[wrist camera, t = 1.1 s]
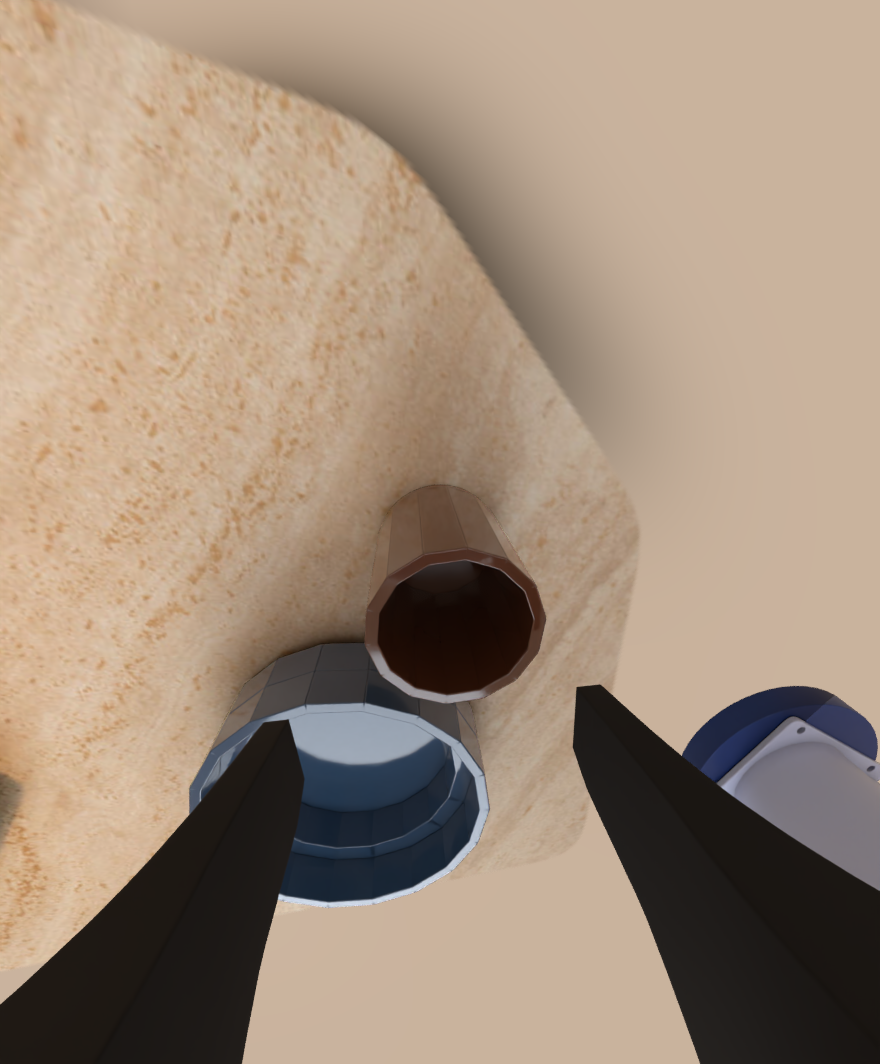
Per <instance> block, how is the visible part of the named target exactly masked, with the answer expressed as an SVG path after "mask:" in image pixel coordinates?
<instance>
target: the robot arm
mask: <svg viewBox="0 0 880 1064" xmlns="http://www.w3.org/2000/svg"><path fill="white" fill-rule="evenodd" d="M573 749H574V752H575V755H576V758H577V761H578V764H579V767H580V770H581V773H582V776H583V779H584V781H585V784H586V787H587V790H588V792H589V794H590V796H591V799H592V801H593V803H594V805H595V807H596V810H597V812H598V814H599V816H600V818H601V820H602V822H603V825H604V827H605V829H606V831H607V833H608V835H609V837H610V840H611V842H612V844H613V846H614V848H615V850H616V852H617V854H618V857H619V859H620V861H621V863H622V865H623V867H624V869H625V872H626V874H627V876H628V878H629V880H630V882H631V884H632V886H633V889H634V891H635V893H636V895H637V897H638V900H639V902H640V904H641V907H642V909H643V911H644V914H645V916H646V918H647V921H648V923H649V926H650V928H651V931H652V934H653V936H654V939H655V942H656V944H657V947H658V950H659V952H660V955H661V957H662V960H663V963H664V965H665V968H666V970H667V973H668V976H669V979H670V981H671V984H672V987H673V990H674V992H675V995H676V998H677V1001H678V1003H679V1006H680V1009H681V1012H682V1014H683V1017H684V1020H685V1023H686V1025H687V1028H688V1031H689V1034H690V1036H691V1039H692V1042H693V1045H694V1047H695V1050H696V1053H697V1056H698V1059H699V1061H700V1064H880V784H879V783H878V782H877V781H879V780H880V763H878V762H876V761H875V760H873V759H871V758H869V757H868V756H866V755H864V754H862V753H860V752H859V751H857V750H855V749H853V748H851V747H850V746H848V745H846V744H844V743H842V742H841V741H839V740H837V739H835V738H833V737H832V736H830V735H828V734H826V733H824V732H823V731H821V730H819V729H817V728H815V727H814V726H812V725H810V724H808V723H807V722H805V721H803V720H801V719H799V718H798V717H789V718H787V719H785V720H784V721H783V722H782V723H781V724H780V725H779V726H778V727H777V728H776V729H775V730H773V731H772V732H771V733H770V734H769V735H768V736H767V737H766V738H765V739H764V740H763V741H761V742H760V743H759V744H758V745H757V746H756V747H755V748H754V749H753V750H752V751H751V752H749V753H748V754H747V755H746V756H745V757H744V758H743V759H742V760H741V761H740V762H739V763H737V764H736V765H735V766H734V767H733V768H732V769H731V770H730V771H729V772H728V773H727V774H725V775H724V776H723V777H722V778H721V779H720V780H719V781H718V782H717V783H715V782H714V781H712V780H711V779H710V778H709V777H707V776H706V775H705V774H703V773H702V772H701V771H699V770H698V769H697V768H696V767H695V766H693V765H692V764H691V763H690V762H688V761H687V760H686V759H685V758H683V757H682V756H681V755H680V754H679V753H677V752H676V751H675V750H674V749H673V748H672V747H670V746H669V745H668V744H667V743H666V742H664V741H663V740H662V739H661V738H660V737H658V736H657V735H656V734H655V733H654V732H653V731H652V730H650V729H649V728H648V727H647V726H646V725H644V723H643V722H641V721H640V720H639V719H638V718H637V717H636V716H635V715H633V713H631V712H630V711H629V710H628V709H627V708H626V707H625V706H624V705H623V704H621V703H620V702H619V701H618V700H617V699H616V698H615V697H614V696H613V695H612V694H610V693H609V692H608V691H607V690H606V689H605V688H604V687H603V686H601V685H591V686H583V687H577V689H576V705H575V721H574V737H573ZM304 780H305V778H304V774H303V771H302V767H301V763H300V759H299V756H298V752H297V748H296V744H295V741H294V737H293V733H292V729H291V726H290V722H289V719H287V720H278V721H269V722H263V724H262V725H261V726H260V727H259V728H258V730H257V731H256V732H255V733H254V735H253V736H252V737H251V738H250V740H249V741H248V742H247V744H246V745H245V746H244V747H243V749H242V750H241V751H240V753H239V754H238V755H237V756H236V758H235V759H234V760H233V762H232V763H231V764H230V765H229V767H228V768H227V769H226V770H225V772H224V773H223V774H222V776H221V777H220V778H219V779H218V780H217V782H216V783H215V784H214V785H213V787H212V788H211V789H210V790H209V792H208V793H207V794H206V795H205V796H204V798H203V799H202V800H201V801H200V803H199V804H198V805H197V806H196V807H195V809H194V810H193V811H192V812H191V813H190V815H189V816H188V817H187V818H186V819H185V820H184V822H183V823H182V824H181V825H180V826H179V827H178V828H177V830H176V831H175V832H174V833H173V834H172V835H171V836H170V838H169V839H168V840H167V841H166V842H165V843H164V844H163V846H162V847H161V848H160V849H159V850H158V851H157V852H156V853H155V855H154V856H153V857H152V858H151V859H150V860H149V861H148V862H147V863H146V864H145V865H144V867H143V868H142V869H141V870H140V871H139V872H138V873H137V874H136V875H135V876H134V877H133V878H132V879H131V880H130V881H129V883H128V884H127V885H126V886H125V887H124V888H123V889H122V890H121V891H120V892H119V893H118V894H117V895H116V896H115V897H114V898H113V899H112V900H111V901H110V902H109V903H108V904H107V905H106V906H105V907H104V908H103V909H102V910H101V911H100V912H99V913H98V914H97V915H96V916H95V917H94V918H93V919H92V920H91V921H90V922H89V923H88V924H87V925H86V926H85V927H84V928H83V929H82V930H81V931H80V932H79V933H77V934H76V935H75V936H74V937H73V938H72V939H71V940H70V941H69V942H68V943H67V944H66V945H65V946H64V947H63V948H61V949H60V950H59V951H58V952H57V953H56V954H55V955H54V956H53V957H52V958H51V959H50V960H49V961H48V962H47V963H45V964H44V966H42V967H41V968H40V969H39V970H38V971H37V972H36V973H35V974H34V975H33V976H32V977H31V978H29V979H28V980H27V981H26V982H25V983H24V984H23V985H22V986H21V987H20V988H18V989H17V990H16V991H15V992H14V993H13V994H12V995H11V996H9V997H8V998H7V999H6V1000H5V1001H4V1002H3V1003H2V1004H0V1064H242V1060H243V1054H244V1048H245V1043H246V1037H247V1032H248V1027H249V1022H250V1017H251V1011H252V1006H253V1001H254V995H255V990H256V985H257V980H258V975H259V970H260V966H261V962H262V958H263V953H264V949H265V944H266V941H267V937H268V934H269V930H270V926H271V923H272V919H273V915H274V912H275V908H276V904H277V900H278V897H279V893H280V889H281V886H282V882H283V878H284V875H285V871H286V867H287V863H288V860H289V856H290V852H291V848H292V844H293V841H294V837H295V833H296V829H297V825H298V819H299V813H300V807H301V801H302V794H303V787H304Z"/></svg>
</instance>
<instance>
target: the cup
mask: <svg viewBox="0 0 880 1064" xmlns="http://www.w3.org/2000/svg"><path fill="white" fill-rule="evenodd" d="M545 622H546V615H545V612H544V608H543V605H542V602H541V599H540V595H539V592H538V589H537V586H536V584H535V582H534V581H533V579H532V577H531V576H530V574H529V572H528V571H527V569H526V567H525V566H524V564H523V562H522V561H521V559H520V557H519V556H518V554H517V553H516V551H515V549H514V548H513V546H512V544H511V543H510V541H509V539H508V538H507V536H506V534H505V533H504V531H503V529H502V528H501V526H500V524H499V523H498V521H497V519H496V518H495V516H494V514H493V513H492V512H491V511H490V510H489V509H488V508H487V506H486V505H485V504H484V503H483V502H482V501H481V500H480V499H479V498H478V497H476V496H475V495H473V494H472V493H470V492H468V491H466V490H464V489H461V488H458V487H454V486H449V485H432V486H426V487H422V488H419V489H416V490H414V491H412V492H410V493H408V494H407V495H405V496H404V497H402V498H401V499H400V500H399V501H397V502H396V503H395V504H394V505H393V507H392V508H391V509H390V510H389V512H388V513H387V515H386V517H385V519H384V521H383V523H382V526H381V528H380V530H379V535H378V541H377V547H376V553H375V559H374V565H373V571H372V577H371V583H370V589H369V595H368V601H367V607H366V619H365V640H364V644H365V647H366V649H367V651H368V653H369V655H370V657H371V658H372V660H373V662H374V664H375V666H376V668H377V670H378V672H379V674H380V675H381V676H382V677H383V678H384V679H386V680H387V681H389V682H390V683H392V684H393V685H394V686H396V687H397V688H399V689H400V690H402V691H403V692H404V693H406V694H407V695H409V696H411V697H416V698H420V699H425V700H430V701H435V702H439V703H444V704H446V703H447V704H449V703H456V702H462V701H469V700H475V699H482V698H483V697H484V698H485V697H487V696H488V695H490V694H492V693H494V692H496V691H498V690H499V689H501V688H503V687H505V686H507V685H508V684H510V683H512V682H514V681H515V680H516V679H518V677H519V676H520V675H521V674H522V672H523V671H524V670H525V669H526V667H527V666H528V665H529V664H530V662H531V661H532V660H533V659H534V657H535V656H536V655H537V654H538V652H539V649H540V644H541V640H542V635H543V631H544V626H545Z"/></svg>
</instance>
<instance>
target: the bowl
mask: <svg viewBox="0 0 880 1064" xmlns="http://www.w3.org/2000/svg"><path fill="white" fill-rule="evenodd" d="M287 719H289V722H290V726H291V729H292V733H293V737H294V741H295V744H296V748H297V752H298V756H299V759H300V763H301V767H302V771H303V774H304V778H305V780H304V787H303V794H302V801H301V807H300V813H299V819H298V825H297V829H296V833H295V837H294V841H293V844H292V848H291V852H290V856H289V860H288V863H287V867H286V871H285V875H284V878H283V882H282V886H281V889H280V893H279V897H278V900H280V901H283V902H290V903H297V904H304V905H311V906H318V907H325V908H326V907H328V908H333V907H347V906H360V905H373V904H378V903H381V902H384V901H387V900H390V899H394V898H397V897H401V896H404V895H408V894H411V893H415V892H416V891H419V890H421V889H423V888H424V887H426V886H428V885H429V884H431V883H433V882H435V881H436V880H438V879H440V878H441V877H443V876H445V875H446V874H448V873H450V872H452V870H454V869H455V868H456V867H457V866H458V865H459V863H460V862H461V861H462V860H463V859H464V858H465V857H466V856H467V855H468V853H469V852H470V851H471V850H472V849H473V848H474V847H475V846H476V845H477V843H478V842H479V839H480V836H481V833H482V830H483V827H484V825H485V822H486V819H487V816H488V813H489V810H490V805H489V799H488V792H487V785H486V779H485V773H484V767H483V762H482V757H481V752H480V747H479V742H478V737H477V732H476V726H475V721H474V716H473V711H472V708H471V706H470V705H469V703H468V702H467V701H462V702H456V703H449V704H447V703H446V704H444V703H439V702H435V701H430V700H425V699H420V698H416V697H411V696H409V695H407V694H406V693H404V692H403V691H402V690H400V689H399V688H397V687H396V686H394V685H393V684H392V683H390V682H389V681H387V680H386V679H384V678H383V677H382V676H381V675H380V674H379V672H378V670H377V668H376V666H375V664H374V662H373V660H372V658H371V657H370V655H369V653H368V651H367V649H366V647H365V644H364V643H335V644H321V645H318V646H314V647H311V648H308V649H305V650H302V651H299V652H296V653H293V654H290V655H287V656H284V657H281V658H279V659H277V660H275V661H274V662H273V663H271V664H270V665H269V666H268V667H266V668H265V669H264V670H262V671H261V672H260V673H258V674H257V675H256V676H255V677H253V678H252V679H251V680H249V681H248V682H247V683H245V685H244V686H243V687H242V689H241V691H240V693H239V694H238V696H237V698H236V700H235V702H234V703H233V705H232V707H231V709H230V711H229V712H228V714H227V716H226V718H225V720H224V722H223V724H222V726H221V727H220V729H219V731H218V733H217V735H216V737H215V739H214V741H213V743H212V745H211V747H210V749H209V751H208V753H207V754H206V756H205V758H204V760H203V762H202V764H201V766H200V768H199V770H198V772H197V774H196V776H195V778H194V780H193V782H192V783H191V785H190V788H189V815H190V813H191V812H192V811H193V810H194V809H195V807H196V806H197V805H198V804H199V803H200V801H201V800H202V799H203V798H204V796H205V795H206V794H207V793H208V792H209V790H210V789H211V788H212V787H213V785H214V784H215V783H216V782H217V780H218V779H219V778H220V777H221V776H222V774H223V773H224V772H225V770H226V769H227V768H228V767H229V765H230V764H231V763H232V762H233V760H234V759H235V758H236V756H237V755H238V754H239V753H240V751H241V750H242V749H243V747H244V746H245V745H246V744H247V742H248V741H249V740H250V738H251V737H252V736H253V735H254V733H255V732H256V731H257V730H258V728H259V727H260V726H261V725H262V724H263V722H269V721H278V720H287Z"/></svg>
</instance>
